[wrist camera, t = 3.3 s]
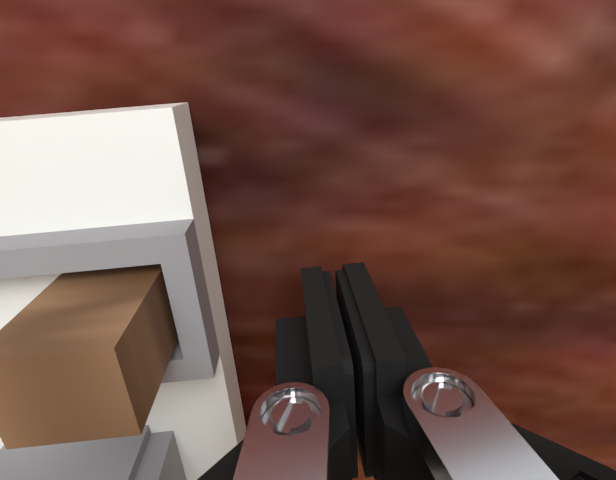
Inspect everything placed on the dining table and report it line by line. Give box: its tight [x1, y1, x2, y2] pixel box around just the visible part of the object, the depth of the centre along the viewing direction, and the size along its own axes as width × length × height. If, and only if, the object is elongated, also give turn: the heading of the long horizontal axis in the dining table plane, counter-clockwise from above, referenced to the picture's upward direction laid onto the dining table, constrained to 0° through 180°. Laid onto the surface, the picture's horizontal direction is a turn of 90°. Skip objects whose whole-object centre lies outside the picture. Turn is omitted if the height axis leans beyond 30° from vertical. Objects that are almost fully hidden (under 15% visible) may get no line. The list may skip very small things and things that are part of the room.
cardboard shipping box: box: [0, 264, 178, 450], centre depth 11 cm, size 3×2×4 cm
